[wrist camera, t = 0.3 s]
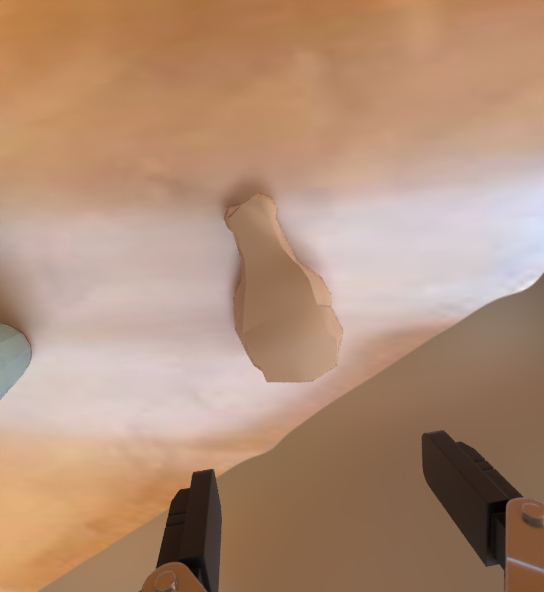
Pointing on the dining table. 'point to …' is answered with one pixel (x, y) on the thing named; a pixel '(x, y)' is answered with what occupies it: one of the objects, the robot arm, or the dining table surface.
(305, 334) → the squash
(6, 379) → the disposable coffee cup
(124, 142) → the dining table surface
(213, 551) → the robot arm
